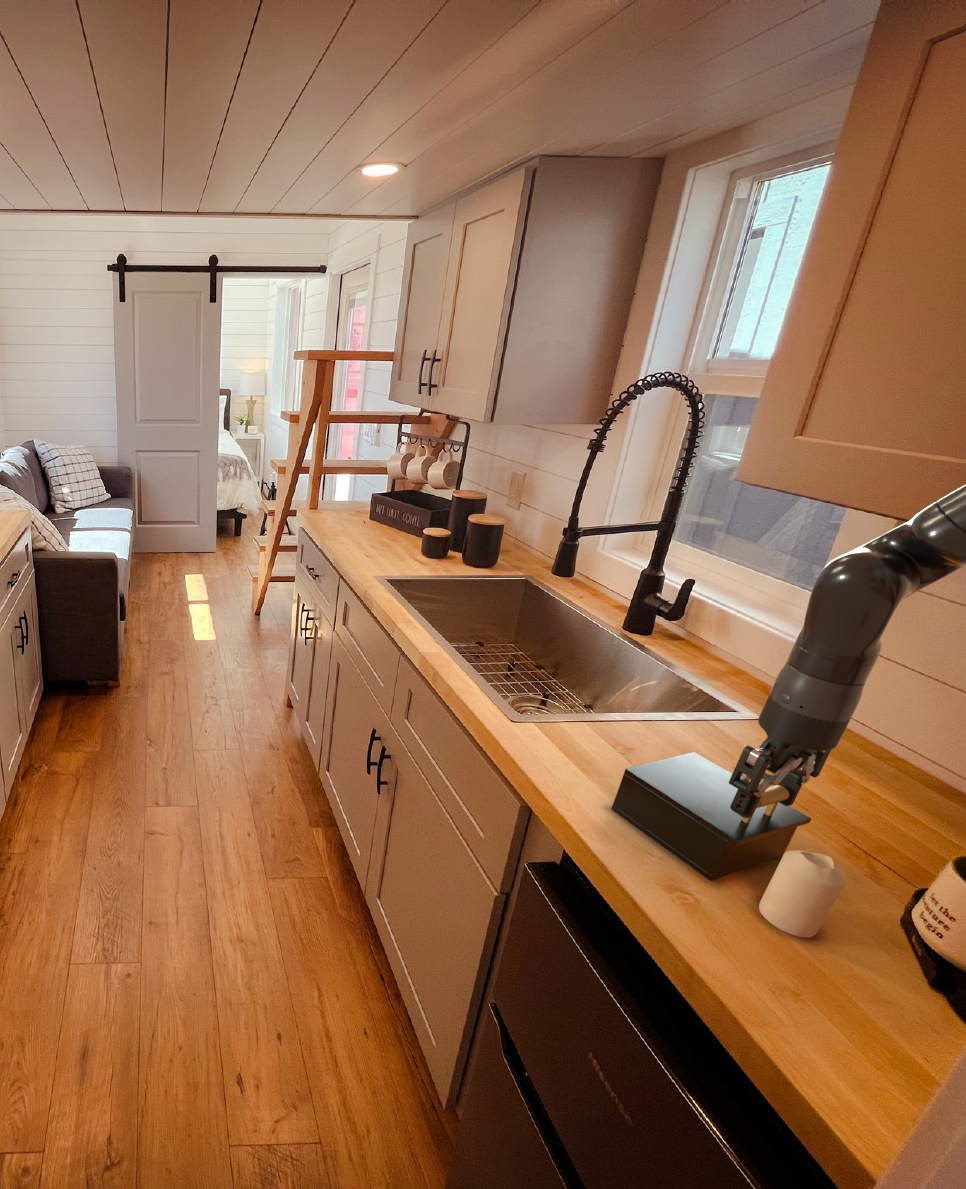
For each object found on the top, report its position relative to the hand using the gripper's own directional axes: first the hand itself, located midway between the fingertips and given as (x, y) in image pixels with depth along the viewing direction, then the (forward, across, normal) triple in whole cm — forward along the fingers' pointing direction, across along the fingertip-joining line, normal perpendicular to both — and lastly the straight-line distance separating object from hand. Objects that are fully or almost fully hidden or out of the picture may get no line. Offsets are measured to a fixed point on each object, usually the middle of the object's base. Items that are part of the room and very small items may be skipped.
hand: (760, 807), depth 86 cm
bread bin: (+9, 0, +6) cm, 11 cm away
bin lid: (+3, 0, +5) cm, 6 cm away
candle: (+9, -4, -9) cm, 14 cm away
